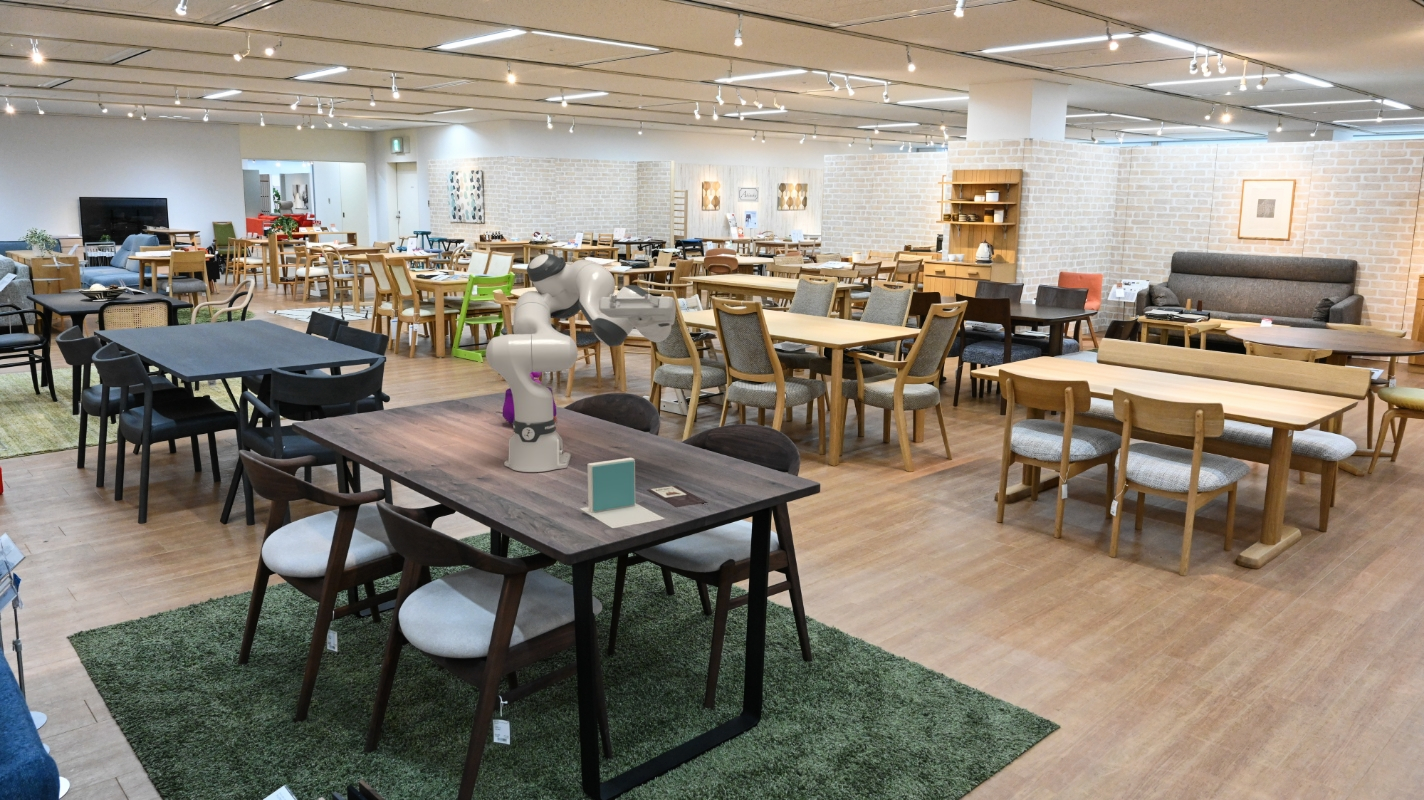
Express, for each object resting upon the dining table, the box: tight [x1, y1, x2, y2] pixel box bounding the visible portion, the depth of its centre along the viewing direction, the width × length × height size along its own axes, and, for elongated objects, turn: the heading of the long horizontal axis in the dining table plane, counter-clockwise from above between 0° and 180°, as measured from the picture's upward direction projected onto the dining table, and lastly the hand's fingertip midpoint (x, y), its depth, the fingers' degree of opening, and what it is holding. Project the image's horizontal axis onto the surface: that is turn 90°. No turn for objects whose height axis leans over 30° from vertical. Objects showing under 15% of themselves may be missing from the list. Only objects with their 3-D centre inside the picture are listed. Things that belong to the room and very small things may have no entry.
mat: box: [579, 502, 666, 529], centre depth 240 cm, size 18×14×1 cm
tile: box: [587, 457, 636, 513], centre depth 243 cm, size 2×12×12 cm, turn 122°
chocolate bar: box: [646, 485, 708, 508], centre depth 255 cm, size 9×1×18 cm
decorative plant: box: [502, 372, 558, 424], centre depth 342 cm, size 19×18×30 cm
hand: (629, 297), depth 252 cm, fingers open, 8 cm apart
